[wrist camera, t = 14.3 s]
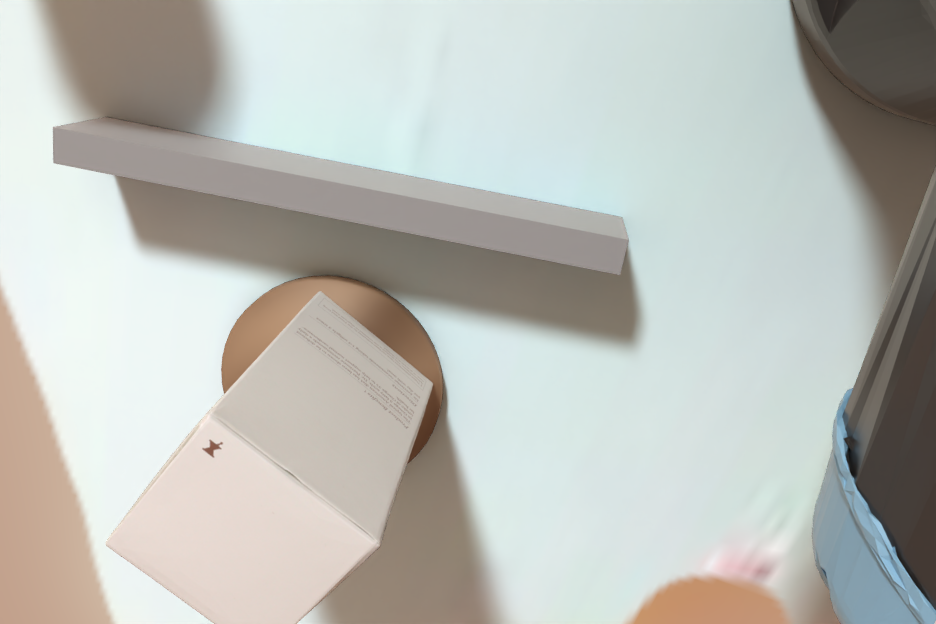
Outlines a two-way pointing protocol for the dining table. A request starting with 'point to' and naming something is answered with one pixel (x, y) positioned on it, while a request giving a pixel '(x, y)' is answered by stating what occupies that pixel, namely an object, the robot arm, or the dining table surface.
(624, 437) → the dining table surface
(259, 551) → the supplement box
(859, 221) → the dining table surface
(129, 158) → the low wall
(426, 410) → the coaster
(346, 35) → the dining table surface
